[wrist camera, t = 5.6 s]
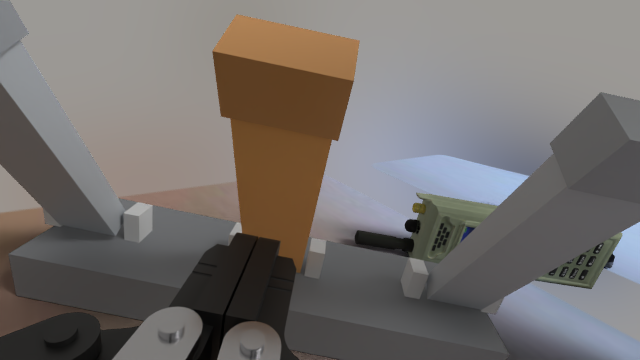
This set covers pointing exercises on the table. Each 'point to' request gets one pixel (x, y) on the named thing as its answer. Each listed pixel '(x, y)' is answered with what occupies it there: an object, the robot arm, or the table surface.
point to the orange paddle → (282, 121)
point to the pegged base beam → (306, 300)
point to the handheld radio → (459, 221)
